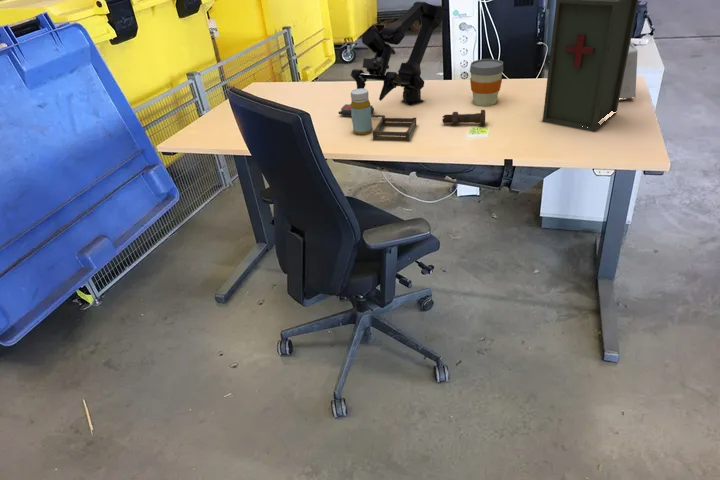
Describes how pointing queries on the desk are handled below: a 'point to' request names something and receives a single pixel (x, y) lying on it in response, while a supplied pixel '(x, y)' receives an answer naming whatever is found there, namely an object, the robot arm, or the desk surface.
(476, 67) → the reusable coffee cup
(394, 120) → the crate
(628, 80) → the electrical switch box
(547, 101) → the first aid box
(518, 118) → the desk surface
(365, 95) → the bottle
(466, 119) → the bolt
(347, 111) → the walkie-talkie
